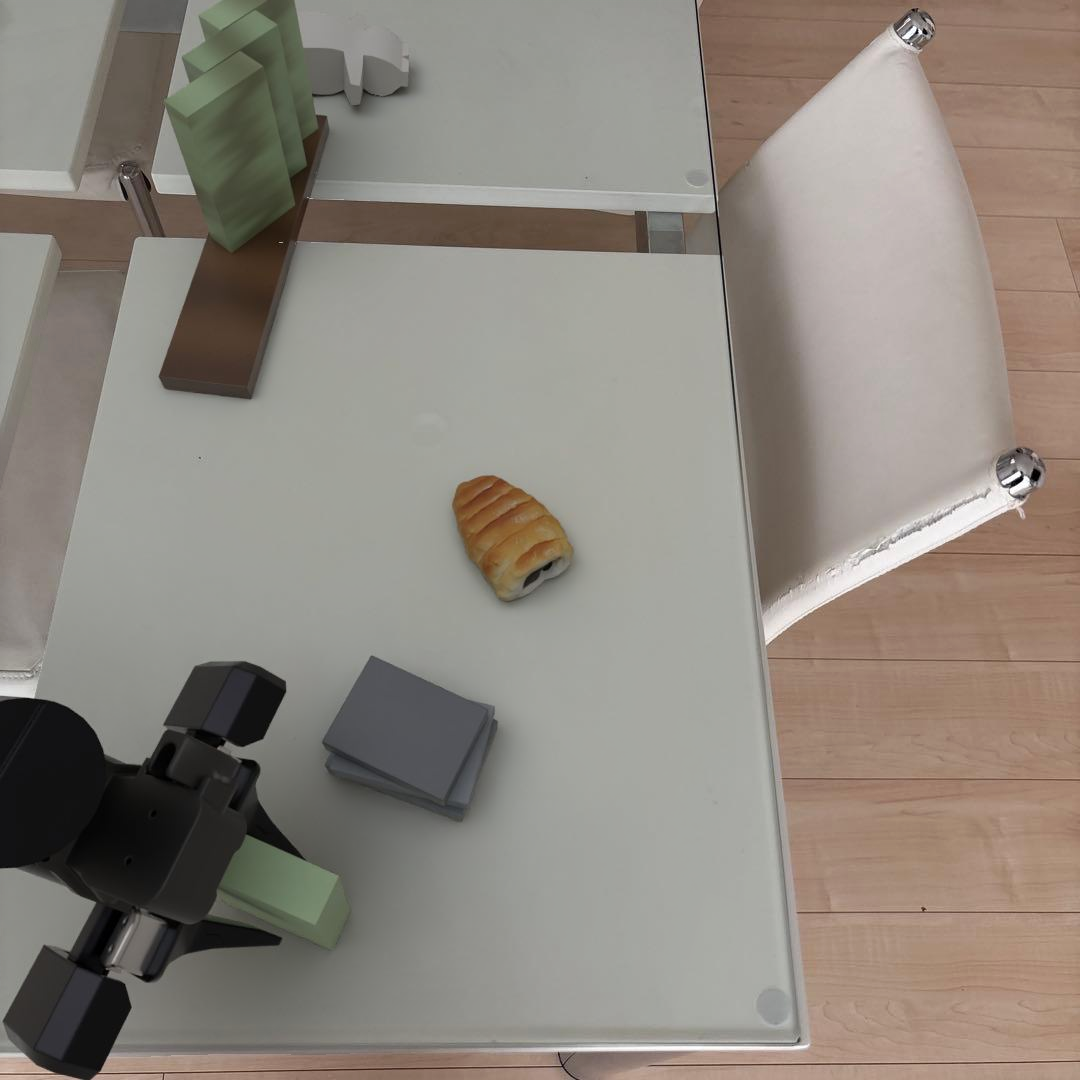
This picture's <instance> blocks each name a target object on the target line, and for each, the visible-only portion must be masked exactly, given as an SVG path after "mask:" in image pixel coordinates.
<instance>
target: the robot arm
mask: <svg viewBox="0 0 1080 1080" xmlns="http://www.w3.org/2000/svg"><path fill="white" fill-rule="evenodd" d="M286 693H287V681H286V680H285V679H283V678H281V677H280V676H278V675H276V674H274V673H273V672H271V671H269V670H267V669H266V668H264V667H262V666H259V665H258V664H255V663H252V662H249V661H246V660H232V661H231V660H226V661H225V660H220V661H213V660H212V661H207V662H204V663H200V664H196V665H194V666H193V668H192V670H191V672H190V673H189V676H188V678H187V679H186V681H185V682H184V684H183V687H182V689H181V691H180V692H179V694H178V696H177V698H176V700H175V701H174V703H173V705H172V707H171V709H170V711H169V712H168V715H167V716H166V718H165V720H164V722H163V724H162V726H163V727H164V728H165V729H166V730H164V732H163V734H162V736H161V737H160V739H159V741H158V743H157V745H156V746H155V748H154V750H153V752H152V754H151V755H150V757H148V756H147V757H145V759H144V760H143V762H142V764H139V763H138V764H136V763H126V762H123V761H122V760H119V759H117V758H116V757H112V756H110V755H108V754H107V753H105V751H104V747H103V745H102V743H101V741H100V738H99V737H98V734H97V732H96V731H95V730H94V728H92V726H91V725H90V724H89V723H88V721H87V719H85V718H84V717H83V716H81V715H80V714H79V713H78V712H76V711H75V710H73V709H72V708H70V707H69V706H66V705H64V704H62V703H59V702H58V701H57V702H56V701H54V700H51V699H50V700H49V699H42V698H34V697H26V696H25V697H24V696H12V695H0V870H1V869H2V870H4V869H16V870H19V871H22V872H25V873H27V874H29V875H33V876H35V877H38V878H41V879H43V880H47V881H49V882H51V883H53V884H54V883H55V884H58V885H60V886H62V887H66V888H67V889H68V890H69V891H70V892H71V893H73V894H75V895H77V896H79V897H81V898H83V899H87V900H89V901H91V902H94V903H95V904H94V906H93V908H92V910H91V911H90V913H89V915H88V917H87V919H86V921H85V923H84V925H83V927H82V929H81V930H80V933H78V935H77V938H76V940H75V942H74V943H73V946H72V948H71V949H70V950H68V949H65V948H61V947H58V946H55V945H48V944H43V945H42V947H41V949H40V951H39V952H38V954H37V956H36V958H35V960H34V961H33V963H32V966H31V967H30V969H29V971H28V973H27V975H26V977H25V978H24V980H23V982H22V984H21V986H20V988H19V990H18V992H17V993H16V995H15V997H14V998H13V1001H12V1003H11V1004H10V1006H9V1008H8V1010H7V1012H6V1014H5V1015H4V1017H3V1019H2V1024H3V1028H4V1031H5V1033H6V1036H7V1040H9V1041H10V1042H11V1043H12V1044H13V1045H14V1046H15V1047H16V1048H17V1049H18V1050H20V1052H21V1053H23V1054H24V1055H25V1056H26V1057H27V1058H28V1059H29V1060H30V1061H31V1062H32V1063H33V1064H35V1066H37V1067H39V1068H42V1069H44V1070H46V1071H49V1072H51V1073H54V1074H57V1075H61V1076H65V1077H69V1078H74V1079H77V1080H92V1079H93V1078H95V1077H96V1076H97V1075H98V1074H99V1073H101V1072H102V1069H103V1067H104V1066H105V1063H106V1062H107V1059H108V1058H109V1055H110V1053H111V1051H112V1049H113V1047H114V1045H115V1043H116V1041H117V1039H118V1037H119V1035H120V1032H121V1031H122V1028H123V1027H124V1025H125V1022H126V1020H127V1018H128V1016H129V1014H130V1012H131V1010H132V1008H133V1007H132V1003H131V1000H130V995H129V992H128V989H127V985H126V983H125V982H123V981H122V980H120V979H117V978H114V977H111V976H108V975H109V973H110V972H114V973H117V974H121V973H122V972H123V971H124V972H127V973H129V974H131V975H132V976H134V977H135V978H137V979H139V980H141V981H142V982H144V983H146V984H155V983H157V982H158V981H159V980H160V979H161V978H162V977H163V976H164V974H165V971H166V969H167V968H168V967H169V965H170V964H171V963H173V962H174V961H176V960H177V959H180V958H181V957H183V956H186V955H189V954H193V953H198V952H203V951H209V950H218V949H236V948H237V949H238V948H258V947H259V948H260V947H278V946H280V945H281V943H282V941H283V937H282V936H279V935H277V934H275V933H272V932H269V931H268V930H264V929H262V928H259V927H257V926H254V925H252V924H249V923H246V922H242V921H237V920H234V919H229V918H225V917H221V916H217V915H213V914H210V912H211V910H212V908H213V907H214V904H215V903H216V900H217V898H218V896H217V888H218V886H219V884H220V882H221V880H222V878H223V876H224V874H225V872H226V870H227V867H228V865H229V863H230V861H231V859H232V857H233V855H234V853H235V852H236V851H238V850H239V849H240V848H241V845H242V843H243V841H244V839H245V836H246V835H249V836H251V837H253V838H255V839H258V840H260V841H262V842H264V843H267V844H269V845H271V846H273V847H276V848H278V849H280V850H282V851H285V852H287V853H289V854H291V855H294V856H296V857H298V858H300V859H303V860H305V861H307V862H309V861H308V860H307V859H306V858H305V857H304V855H302V853H301V852H300V851H299V850H298V848H296V846H295V845H294V844H293V843H292V842H291V841H290V840H289V839H288V838H287V837H286V835H284V833H283V832H282V831H281V830H280V828H278V827H277V826H276V824H275V823H274V822H273V820H272V819H271V818H270V816H269V814H268V813H267V812H266V810H265V809H264V807H263V806H262V804H261V802H260V800H259V797H258V791H257V781H258V779H259V777H260V775H261V771H262V768H261V765H260V764H259V762H257V761H256V760H255V759H251V758H242V757H237V756H233V755H231V754H232V752H233V751H232V750H231V749H229V748H227V747H225V745H226V743H227V742H228V743H229V744H232V745H234V746H236V747H239V748H244V747H247V746H249V745H252V744H254V743H257V742H259V741H262V740H264V738H265V736H266V735H267V732H268V730H269V728H270V726H271V725H272V722H273V720H274V718H275V716H276V713H277V712H278V710H279V708H280V706H281V704H282V702H283V700H284V698H285V695H286Z"/></svg>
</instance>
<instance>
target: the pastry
mask: <svg viewBox="0 0 1080 1080" xmlns="http://www.w3.org/2000/svg"><path fill="white" fill-rule="evenodd" d="M451 506H452V511H453V513H454V516H455V520H456V523H457V524H456V525H457V531H458V534H459V536H460V539H462V542H463V545H464V548H465V554H466V556H467V558H468V560H470V561H471V562H473V563H474V564H475V565H476V566H477V568H478V569H479V570H480V572H481V575H482V576H483V578H484V580H485V581H486V582H487V584H488V585H489V586H490V587H491V589H492V590H493V591H494V593H495V596H496V597H497V598H498V599H500V600H501V601H505V602H510V601H514V600H517V599H520V598H523V597H525V596H527V595H528V594H530V593H532V592H533V591H534V590H535V589H537V588H538V587H539V586H540V585H542V583H543V582H544V581H546V580H548V579H553V578H555V577H558V576H559V575H560V574H562V573H563V572H565V571H566V570H567V569H568V567H569V566H570V564H571V562H572V561H573V556H574V547H573V546H572V544H571V543H570V542H569V538H568V534H567V533H566V531H565V529H564V527H563V526H562V524H561V523H560V521H559V520H558V519H557V517H555V516H554V515H553V514H552V513H551V512H550V511H549V509H547V507H546V506H545V505H544V504H543V503H541V502H539V501H538V500H537V498H536V497H535V496H533V495H531V494H529V493H527V492H526V491H525V490H523V489H522V488H520V487H516V486H514V485H513V484H511V483H509V482H508V481H507V480H505V479H503V478H502V477H499V476H496V475H495V474H494V475H493V474H491V475H488V474H487V475H480V476H478V477H475V478H473V479H470V480H468V481H467V480H465V481H462V482H461V483H458V485H457V487H456V489H455V493H454V496H453V499H452V503H451Z"/></svg>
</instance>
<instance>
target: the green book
mask: <svg viewBox="0 0 1080 1080" xmlns="http://www.w3.org/2000/svg"><path fill="white" fill-rule="evenodd" d="M307 861H308V860H307ZM307 861H305V860H303V859H300V858H298V857H296V856H294V855H291V854H289V853H287V852H285V851H282V850H280V849H278V848H276V847H273V846H271V845H269V844H267V843H264V842H262V841H260V840H258V839H255V838H253V837H251V836H249V835H246V836H245V839H244V841H243V843H242V845H241V848H240V849H239V850H238V851H236V852H235V853H234V855H233V857H232V859H231V861H230V863H229V865H228V867H227V870H226V872H225V874H224V876H223V878H222V880H221V882H220V884H219V886H218V888H217V898H219V900H221V901H222V902H223V903H224V904H227V905H229V906H231V907H233V908H236V909H237V910H241V911H243V912H245V913H247V914H249V915H251V916H254V917H256V918H258V919H260V920H263V921H265V922H267V923H270V924H271V925H274V926H276V927H278V928H280V929H283V930H285V931H287V932H289V933H292V934H294V935H296V936H298V937H301V938H303V939H305V940H307V941H309V942H311V943H314V944H315V945H318V946H320V947H323V948H325V949H327V950H329V951H331V952H332V951H333V950H334V948H335V946H336V944H337V942H338V940H339V938H340V935H341V934H342V932H343V929H344V927H345V925H346V923H347V921H348V919H349V916H350V914H351V913H352V909H351V907H350V904H349V901H348V898H347V895H346V892H345V889H344V886H343V883H342V880H341V878H340V876H339V875H338V874H336V873H334V872H333V871H329V870H327V869H325V868H323V867H320V866H319V865H316V864H314V863H311V862H309V861H308V862H307Z"/></svg>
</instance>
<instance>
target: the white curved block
mask: <svg viewBox="0 0 1080 1080" xmlns="http://www.w3.org/2000/svg"><path fill="white" fill-rule="evenodd" d="M297 17H298V22H299V27H300V33H301V38H302V43H303V49H304V54H305V59H306V65H307V70H308V76H309V81H310V86H311V92H312V95H321V96H324V95H335V94H337V93H339V92H342V91H343V92H344V93H345V95H346V97H347V100H348V102H349V105H350V106H356V105H361V101H362V97H363V93H364V92H363V91H366V92H368V93H369V94H370V93H371V95H372V94H375V95H374V96H376V95H381V96H382V97H386V96H389V95H391V94H393V93H394V92H395V91H397V90H398V89H399V88H401V87H404V88H405V87H406V88H409V87H408V86H409V71H410V70H409V69H410V67H409V65H410V60H409V59H410V42H406V41H405V42H404V41H402V40H401V38H399V36H398V35H396V33H395V32H394V31H392V30H390V29H389V28H387V27H385V26H381V25H372V26H370V27H368V28H366V19H365V15H364V14H362V13H358V12H354V13H353V15H352V16H351V17H350V18H349V19H348V20H347V21H346V22H345V21H342V19H340V18H338V17H336V16H335V15H331V14H328V13H325V12H319V11H312V10H311V11H309V10H308V11H299V12H298V13H297ZM381 96H380V97H381Z"/></svg>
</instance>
